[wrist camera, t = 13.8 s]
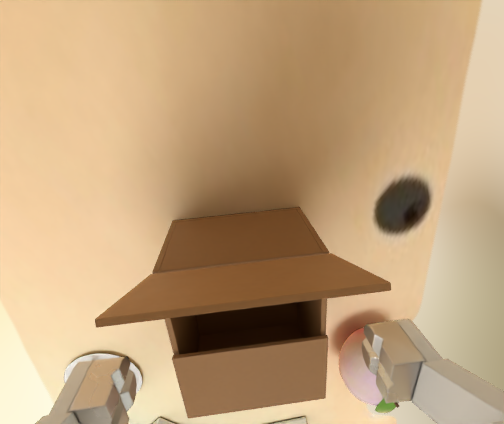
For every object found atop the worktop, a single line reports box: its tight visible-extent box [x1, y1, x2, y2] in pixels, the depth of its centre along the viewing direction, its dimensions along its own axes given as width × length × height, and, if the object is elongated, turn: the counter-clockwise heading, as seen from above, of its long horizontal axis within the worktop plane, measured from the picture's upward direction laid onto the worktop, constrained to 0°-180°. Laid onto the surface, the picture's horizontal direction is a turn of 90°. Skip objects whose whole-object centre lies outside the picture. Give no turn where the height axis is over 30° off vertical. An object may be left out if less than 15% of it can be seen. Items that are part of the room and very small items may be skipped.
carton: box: [153, 207, 329, 418], centre depth 29 cm, size 17×14×10 cm
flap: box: [95, 253, 391, 327], centre depth 17 cm, size 8×14×1 cm
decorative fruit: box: [339, 328, 399, 413], centre depth 35 cm, size 9×8×10 cm
